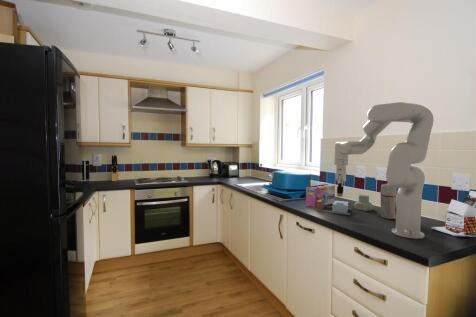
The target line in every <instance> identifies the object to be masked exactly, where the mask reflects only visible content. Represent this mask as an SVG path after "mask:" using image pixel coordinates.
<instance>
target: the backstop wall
mask: <svg viewBox="0 0 476 317" xmlns="http://www.w3.org/2000/svg"><path fill="white" fill-rule="evenodd" d="M324 204H325V198H322V197H321V198H320V199H319V200H318V201H317V205H316V207H315V208H316V212H319V213H320V212H321V210H324V208H325V207H324V206H325V205H324Z"/></svg>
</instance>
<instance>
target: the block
mask: <svg viewBox="0 0 476 317" xmlns="http://www.w3.org/2000/svg"><path fill="white" fill-rule="evenodd" d="M331 206H332V210H331V211H335V212H344V213H349V212H348V211H349V210H348V208H349V201H343V200H335V201H334V203H332V205H331Z"/></svg>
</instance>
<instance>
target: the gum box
mask: <svg viewBox="0 0 476 317" xmlns="http://www.w3.org/2000/svg"><path fill="white" fill-rule="evenodd" d="M335 187H336V186H335V185H329V184H327V183H326V184H323V183H322V184H319V185H318V184H317V185H312V186H311V185H309V186H306V188H305V192H306V193H305V207H307V208H309V207H314V208H316V205H317V201H318V200H319V199H320V198H321V197H322V198H325V204H324V206H328V205H331V204H333V203H334V201H336V188H335Z"/></svg>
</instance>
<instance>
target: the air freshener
mask: <svg viewBox="0 0 476 317" xmlns="http://www.w3.org/2000/svg"><path fill="white" fill-rule="evenodd" d="M353 206H354V208H355V209H356V210H359V211H365V212H371V211H373V209H374V205H373V204H372V203H371V202H370V195H369V194H358V200H357V201H356V202H355V203H354V204H353Z"/></svg>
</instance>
